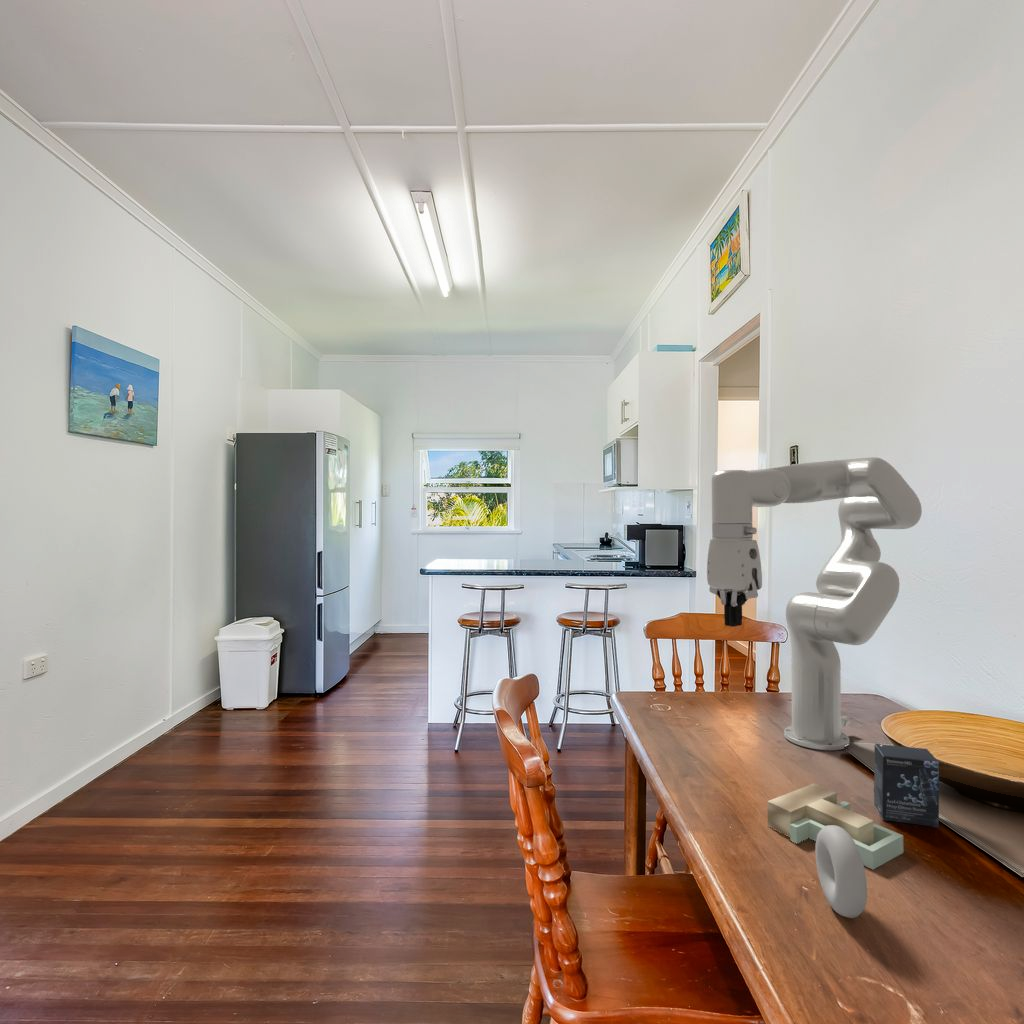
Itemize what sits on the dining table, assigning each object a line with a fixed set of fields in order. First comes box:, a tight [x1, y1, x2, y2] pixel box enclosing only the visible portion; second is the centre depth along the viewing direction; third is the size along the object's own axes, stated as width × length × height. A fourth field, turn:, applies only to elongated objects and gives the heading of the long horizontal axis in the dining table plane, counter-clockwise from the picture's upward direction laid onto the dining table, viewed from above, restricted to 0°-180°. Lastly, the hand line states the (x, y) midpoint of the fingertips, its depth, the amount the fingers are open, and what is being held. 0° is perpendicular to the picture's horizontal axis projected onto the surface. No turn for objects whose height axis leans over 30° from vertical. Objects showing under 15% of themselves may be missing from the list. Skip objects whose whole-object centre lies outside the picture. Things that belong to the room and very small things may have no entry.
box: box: [873, 743, 940, 828], centre depth 99 cm, size 8×6×11 cm
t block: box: [767, 783, 875, 846], centre depth 94 cm, size 12×12×4 cm
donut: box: [814, 825, 868, 919], centre depth 76 cm, size 10×4×10 cm, turn 172°
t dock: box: [789, 800, 904, 870], centre depth 91 cm, size 14×10×2 cm
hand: (733, 625), depth 121 cm, fingers closed
